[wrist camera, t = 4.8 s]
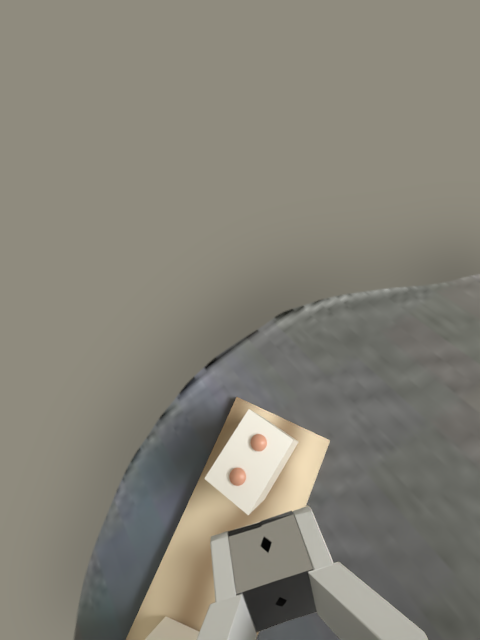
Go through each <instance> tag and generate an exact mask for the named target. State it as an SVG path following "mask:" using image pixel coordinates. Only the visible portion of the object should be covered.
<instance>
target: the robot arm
mask: <svg viewBox="0 0 480 640" xmlns="http://www.w3.org/2000/svg"><path fill="white" fill-rule="evenodd" d="M210 546H211V557H212V569H213V580H214V591H215V602H214V603H212V604H210V606H209V608H208V611H207V614H206V616H205V619H204V621H203V624H202V627H201V629H200V632H199V634H198V637H197V640H256V637H257V634H256V632H259V631H262V630H264V629H267V628H270V627H272V626H275V625H278V624H280V623H283V622H286V621H289V620H292V619H295V618H299V617H302V616H305V615H309V614H312V613H315V612H317V614H318V615H319V616H320V618H321V619H322V620H323V621H324V622H325V623H326V624H327V625H328V626H329V628H330V629H331V630H332V631H333V632H334V633H335V634H336V635H337V636H338V638H339V639H340V640H428V638H427V636H426V634H425V632H424V631H422V630H421V629H420V628H419V627H417V626H416V625H415V624H414V623H413V622H411V621H410V620H409V619H408V618H407V617H405V616H404V615H403V614H402V613H400V612H399V611H398V610H397V609H396V608H394V607H393V606H392V605H391V604H390V603H388V602H387V601H386V600H385V599H383V598H382V597H381V596H380V595H379V594H377V593H376V592H375V591H374V590H373V589H371V588H370V587H369V586H368V585H366V584H365V583H364V582H363V581H362V580H360V579H359V578H358V577H357V576H356V575H354V574H353V573H352V572H351V571H349V570H348V569H347V568H346V567H345V566H343V565H342V564H341V563H340V562H336V563H333V560H332V558H331V555H330V553H329V551H328V548H327V546H326V543H325V541H324V538H323V536H322V534H321V531H320V529H319V526H318V524H317V522H316V519H315V517H314V514H313V512H312V509H311V508H310V507H309V506H306V507H303V508H300V509H297V510H294V511H293V512H292V511H289V512H286V513H283V514H280V515H277V516H274V517H271V518H268V519H265V520H262V521H261V522H257V523H254V524H251V525H247V526H244V527H241V528H237V529H234V530H231V531H227V532H223V533H220V534H217V535H214V536H211V541H210Z"/></svg>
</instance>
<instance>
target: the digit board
mask: <svg viewBox="0 0 480 640" xmlns="http://www.w3.org/2000/svg"><path fill="white" fill-rule="evenodd" d="M249 409H250V410H252V411H253V412H255V413H257V414H258V415H260V416H262V417H264V418H265V419H266V420H268V421H269V422H271V423H272V424H274V425H275V426H277V427H278V428H279V429H281V430H282V431H284V432H285V433H287V434H288V435H290V436H291V437H293V438H294V439H295V440H297V441H298V444H297V446H296V448H295V449H294V451H293V453H292V454H291V456H290V458H289V459H288V461H287V463H286V464H285V466H284V468H283V469H282V471H281V473H280V474H279V476H278V478H277V479H276V481H275V483H274V485H273V486H272V488H271V490H270V491H269V493H268V495H267V496H266V498H265V500H264V501H263V502H262V503H260V504H259V505H258V506H257V507H256V508H255V509H254V510H253V511H252V512H251V513H250V514H249V515H247V514H246V513H245V512H244V511H242V510H241V509H240V508H239V507H238V506H236V505H235V504H234V503H233V502H232V501H230V500H229V499H228V498H227V497H226V496H224V495H223V494H222V493H221V492H220V491H218V490H217V489H216V488H215V487H214V486H212V485H211V484H210V483H209V482H208V481H207V480H205V479H204V478H205V477H206V475H207V474H208V472H209V471H210V469H211V467H212V466H213V464H214V463H215V461H216V460H217V458H218V456H219V455H220V453H221V452H222V450H223V449H224V447H225V445H226V444H227V442H228V441H229V439H230V438H231V436H232V435H233V433H234V431H235V430H236V428H237V427H238V425H239V424H240V422H241V420H242V419H243V417H244V416H245V414H246V413H247V411H248V410H249ZM329 442H330V440H328V439H326V438H324V437H321V436H319V435H317V434H315V433H313V432H311V431H309V430H306V429H304V428H302V427H300V426H298V425H296V424H294V423H291V422H289V421H287V420H285V419H283V418H281V417H279V416H277V415H274V414H272V413H270V412H268V411H266V410H264V409H262V408H259V407H257V406H255V405H253V404H251V403H249V402H247V401H244V400H242V399H240V398H238V397H236V399H235V401H234V404H233V406H232V408H231V410H230V412H229V415H228V417H227V419H226V421H225V423H224V426H223V428H222V430H221V432H220V434H219V437H218V439H217V441H216V443H215V445H214V447H213V450H212V452H211V454H210V456H209V458H208V461H207V463H206V465H205V467H204V469H203V472H202V474H201V476H200V478H199V480H198V482H197V485H196V487H195V489H194V491H193V493H192V496H191V498H190V500H189V502H188V504H187V507H186V509H185V511H184V513H183V515H182V517H181V520H180V522H179V524H178V526H177V528H176V531H175V533H174V535H173V537H172V539H171V542H170V544H169V546H168V548H167V550H166V553H165V555H164V557H163V559H162V561H161V563H160V566H159V568H158V570H157V572H156V574H155V577H154V579H153V581H152V583H151V585H150V588H149V590H148V592H147V594H146V596H145V598H144V601H143V603H142V605H141V607H140V609H139V612H138V614H137V616H136V618H135V620H134V623H133V625H132V627H131V629H130V631H129V634H128V636H127V638H126V640H145V639H146V638H147V637H148V635H149V634H150V633H151V632H152V631H153V630H154V629H155V628H156V627H157V625H158V624H159V623H160V622H161V621H162V620H163V619H164V618H165V617H169V618H171V619H173V620H175V621H177V622H179V623H182V624H184V625H186V626H188V627H190V628H192V629H195V630H197V631H199V632H200V629H201V627H202V624H203V621H204V619H205V616H206V614H207V611H208V608H209V606H210V604H212V603H214V602H215V591H214V580H213V569H212V557H211V546H210V541H211V536H214V535H217V534H220V533H223V532H227V531H231V530H234V529H237V528H241V527H244V526H247V525H251V524H254V523H257V522H261V521H262V520H265V519H268V518H271V517H274V516H277V515H280V514H283V513H286V512H289V511H292V512H293V511H294V510H297V509H300V508H303V507H306V504H307V501H308V498H309V496H310V493H311V490H312V488H313V485H314V482H315V480H316V477H317V474H318V472H319V469H320V466H321V464H322V461H323V458H324V456H325V453H326V450H327V447H328V445H329ZM258 633H259V632H256V634H257V635H258ZM256 638H257V637H256Z"/></svg>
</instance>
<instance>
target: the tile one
mask: <svg viewBox="0 0 480 640" xmlns="http://www.w3.org/2000/svg"><path fill="white" fill-rule="evenodd" d="M198 634H199V631H197V630H195V629H192V628H190V627H188V626H186V625H184V624H182V623H179V622H177V621H175V620H173V619H171V618H169V617H165V618H164V619H163V620H162V621H161V622H160V623H159V624H158V625H157V627H156V628H155V629H154V630H153V631H152V632H151V633H150V634H149V635H148V637H147V638H146V639H145V640H197V637H198Z"/></svg>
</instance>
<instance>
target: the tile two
mask: <svg viewBox="0 0 480 640" xmlns="http://www.w3.org/2000/svg"><path fill="white" fill-rule="evenodd" d="M297 444H298V441H297V440H295V439H294V438H293V437H291V436H290V435H288V434H287V433H285V432H284V431H282V430H281V429H279V428H278V427H277V426H275V425H274V424H272V423H271V422H269V421H268V420H266V419H265V418H264V417H262V416H260V415H258V414H257V413H255V412H253V411H252V410H250V409H249V410H248V411H247V413H246V414H245V416H244V417H243V419H242V420H241V422H240V424H239V425H238V427H237V428H236V430H235V431H234V433H233V435H232V436H231V438H230V439H229V441H228V442H227V444H226V445H225V447H224V449H223V450H222V452H221V453H220V455H219V456H218V458H217V460H216V461H215V463H214V464H213V466H212V467H211V469H210V471H209V472H208V474H207V475H206V477H205V478H204V479H205V480H207V481H208V482H209V483H210V484H211V485H212V486H214V487H215V488H216V489H217V490H218V491H220V492H221V493H222V494H223V495H224V496H226V497H227V498H228V499H229V500H230V501H232V502H233V503H234V504H235V505H236V506H238V507H239V508H240V509H241V510H242V511H244V512H245V513H246V514H247V515H249V514H250V513H251V512H252V511H253V510H254V509H255V508H256V507H257V506H258V505H259V504H260V503H262V502H263V501H264V500H265V498H266V496H267V495H268V493H269V491H270V490H271V488H272V486H273V485H274V483H275V481H276V479H277V478H278V476H279V474H280V473H281V471H282V469H283V468H284V466H285V464H286V463H287V461H288V459H289V458H290V456H291V454H292V453H293V451H294V449H295V448H296V446H297Z"/></svg>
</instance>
